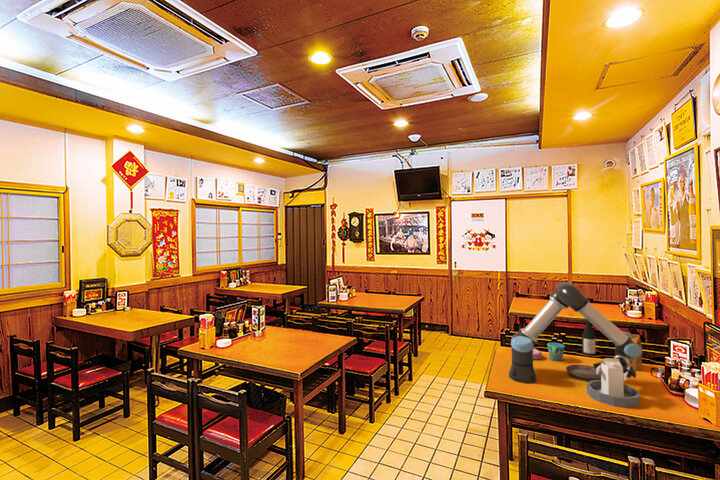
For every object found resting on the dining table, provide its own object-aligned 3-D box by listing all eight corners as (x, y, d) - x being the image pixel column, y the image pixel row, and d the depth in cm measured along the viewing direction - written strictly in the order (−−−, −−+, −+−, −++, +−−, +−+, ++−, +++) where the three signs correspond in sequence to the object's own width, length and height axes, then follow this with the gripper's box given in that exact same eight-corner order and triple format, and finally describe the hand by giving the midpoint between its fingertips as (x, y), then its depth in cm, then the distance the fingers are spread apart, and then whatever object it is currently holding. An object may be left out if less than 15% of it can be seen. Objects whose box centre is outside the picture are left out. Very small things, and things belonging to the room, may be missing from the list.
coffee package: (623, 362, 236) (623, 329, 235) (645, 369, 224) (644, 334, 224) (614, 365, 232) (613, 331, 231) (635, 371, 220) (635, 336, 220)
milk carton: (601, 391, 191) (600, 356, 191) (616, 392, 190) (615, 356, 190) (608, 397, 184) (607, 360, 184) (623, 398, 183) (623, 360, 183)
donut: (544, 361, 242) (544, 353, 242) (523, 360, 244) (523, 352, 244) (538, 354, 255) (538, 347, 255) (518, 353, 258) (518, 346, 258)
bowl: (596, 404, 179) (595, 395, 179) (582, 386, 200) (581, 378, 200) (647, 409, 173) (647, 400, 173) (627, 390, 194) (627, 382, 194)
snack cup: (551, 354, 253) (551, 340, 253) (568, 358, 246) (568, 343, 246) (543, 360, 243) (543, 345, 242) (560, 364, 235) (560, 348, 235)
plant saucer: (590, 385, 202) (590, 379, 202) (558, 372, 221) (558, 367, 221) (614, 379, 210) (614, 373, 210) (581, 367, 229) (581, 362, 229)
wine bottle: (596, 356, 249) (596, 313, 249) (583, 355, 252) (583, 312, 252) (593, 352, 257) (593, 311, 257) (581, 351, 260) (580, 310, 259)
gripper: (646, 376, 190) (639, 388, 175) (595, 365, 207) (584, 375, 192) (646, 362, 190) (639, 373, 175) (594, 352, 207) (584, 361, 192)
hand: (610, 374), depth 184 cm, fingers open, 11 cm apart
